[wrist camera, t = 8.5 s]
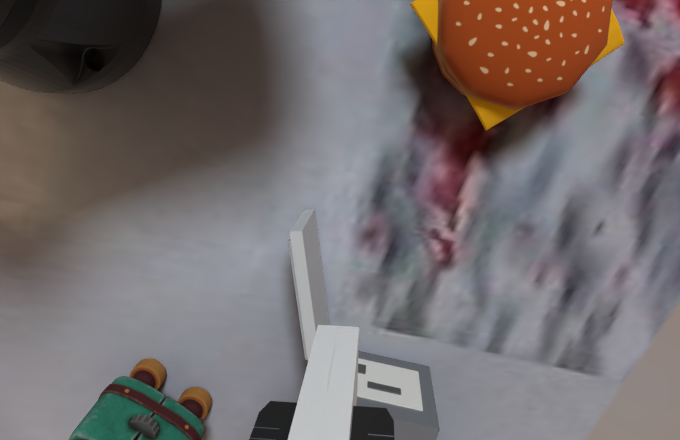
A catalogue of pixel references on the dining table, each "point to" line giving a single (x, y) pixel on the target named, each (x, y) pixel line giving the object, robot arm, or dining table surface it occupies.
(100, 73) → the robot arm
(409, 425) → the camera body
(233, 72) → the dining table surface
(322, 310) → the side door
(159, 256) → the dining table surface
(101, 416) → the binoculars
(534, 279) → the dining table surface
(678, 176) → the dining table surface
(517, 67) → the hamburger
